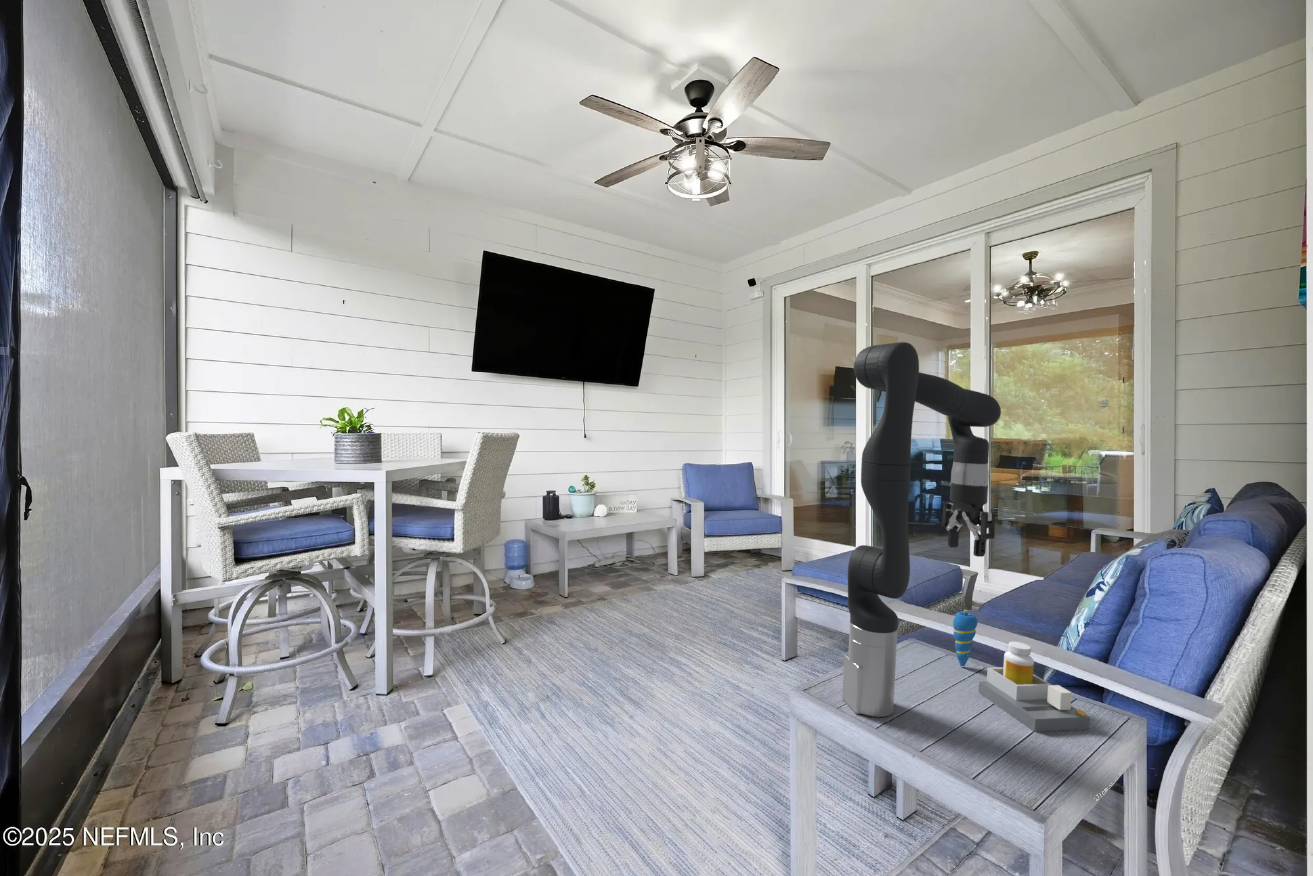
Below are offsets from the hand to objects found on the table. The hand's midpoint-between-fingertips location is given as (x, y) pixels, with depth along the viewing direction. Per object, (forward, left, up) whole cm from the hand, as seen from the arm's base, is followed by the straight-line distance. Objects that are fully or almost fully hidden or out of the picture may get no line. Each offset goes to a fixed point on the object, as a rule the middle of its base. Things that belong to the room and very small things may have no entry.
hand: (965, 551), depth 124 cm
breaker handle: (+9, -18, -27) cm, 34 cm away
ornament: (+5, +5, -30) cm, 31 cm away
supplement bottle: (+6, -10, -28) cm, 30 cm away
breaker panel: (+6, -14, -30) cm, 34 cm away
